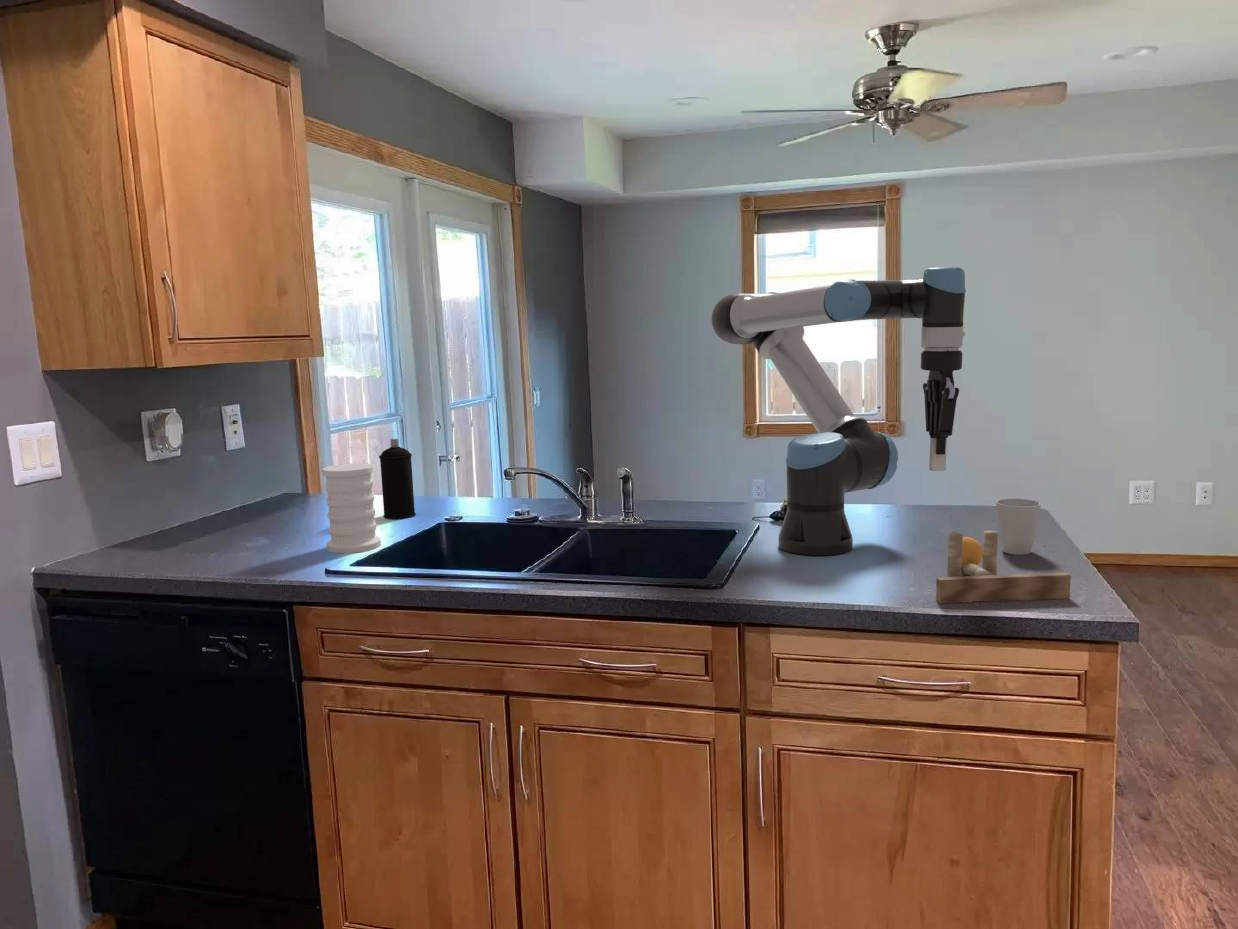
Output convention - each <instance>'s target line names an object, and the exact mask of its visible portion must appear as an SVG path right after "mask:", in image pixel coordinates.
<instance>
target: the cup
mask: <svg viewBox="0 0 1238 929" xmlns="http://www.w3.org/2000/svg"><path fill="white" fill-rule="evenodd" d="M995 503H996V507H995V508H996V509H995V510H996V526H997V532H998V541H999V543H1000V545H1001V550H1002V553H1003V552H1004V553H1006V554H1010V555H1018V556H1019V555H1020V556H1021V555H1029V554H1030V553H1031V551H1032V548H1033V546H1034V543H1035V542H1036V536H1037V534H1038V533H1037V532H1038V527H1039V522H1040V513H1041V502H1039V501H1036V500H1033V499H1026V498H1002V499H997V500H996V501H995Z"/></svg>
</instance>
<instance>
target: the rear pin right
mask: <svg viewBox="0 0 1238 929" xmlns="http://www.w3.org/2000/svg"><path fill="white" fill-rule="evenodd" d="M963 537H964V534H963V532H959V531H949V532H948V537H947V539H948V542H947V568H946V569H947V571H946V572H947V574H946V577H961V576H962V573H963V568H962V541H963Z"/></svg>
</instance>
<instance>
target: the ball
mask: <svg viewBox="0 0 1238 929" xmlns="http://www.w3.org/2000/svg"><path fill="white" fill-rule="evenodd" d="M982 561H983V546H982V544H981V543H980V542H979V541H978V540H976V539H975V538H973V537H969V536H963V541H962V569H963V566H964V565H965V564H966V563H968V562H971V563H974V564H975V565H977V566H979V564H980V563H981V562H982Z"/></svg>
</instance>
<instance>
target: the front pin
mask: <svg viewBox="0 0 1238 929" xmlns="http://www.w3.org/2000/svg"><path fill="white" fill-rule="evenodd" d="M962 573H964V574H965V575H967V576H987V575H994V574H992V573H990V572H989V571H987V570H985V569H983V567H981V566H979V565H975V564H974V563H971V562H968V563H966V564H965V565H964V566H963V568H962Z"/></svg>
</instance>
